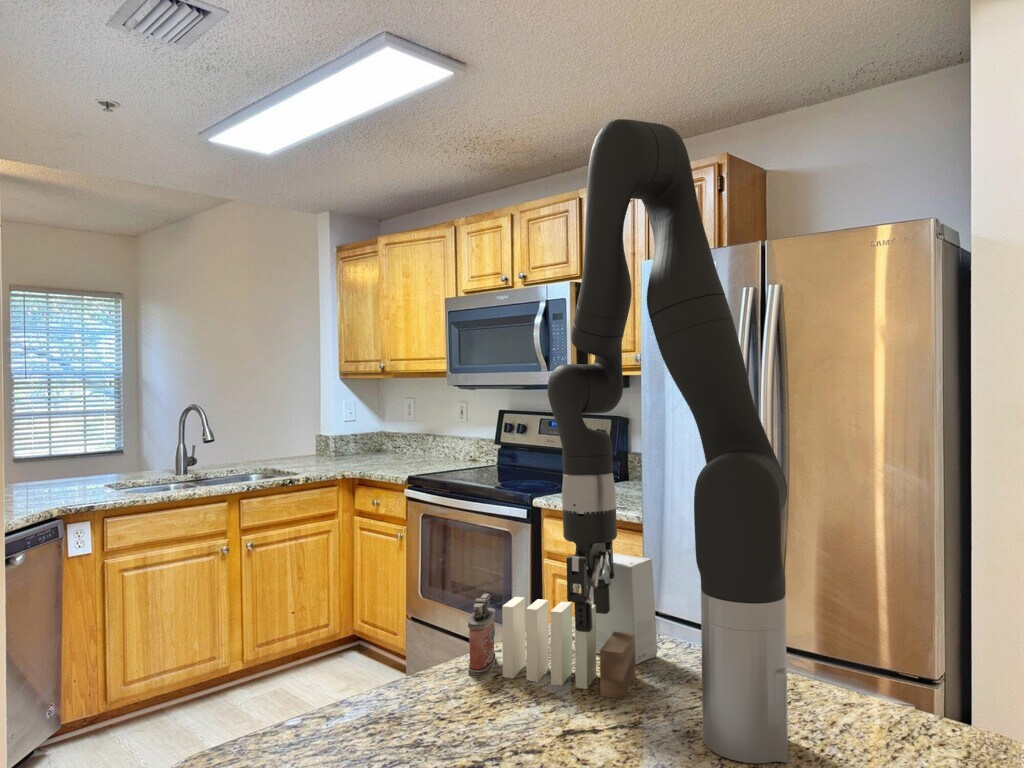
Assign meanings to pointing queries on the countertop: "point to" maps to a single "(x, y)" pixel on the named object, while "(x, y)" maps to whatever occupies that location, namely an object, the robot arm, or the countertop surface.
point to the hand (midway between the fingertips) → (593, 621)
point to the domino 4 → (586, 654)
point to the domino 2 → (537, 640)
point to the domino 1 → (513, 636)
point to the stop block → (617, 665)
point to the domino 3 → (561, 643)
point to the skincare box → (630, 606)
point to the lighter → (481, 638)
